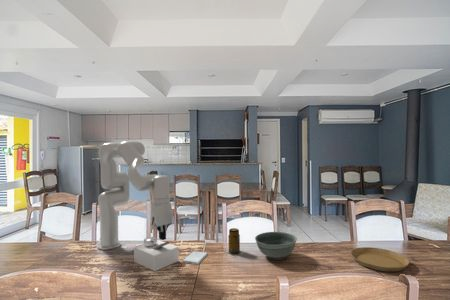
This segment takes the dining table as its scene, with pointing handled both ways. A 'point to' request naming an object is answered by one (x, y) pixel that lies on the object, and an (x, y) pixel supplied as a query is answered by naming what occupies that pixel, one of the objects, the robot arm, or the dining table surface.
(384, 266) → the plant saucer
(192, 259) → the hard drive
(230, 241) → the condiment
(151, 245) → the pin
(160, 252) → the block
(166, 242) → the latch bar
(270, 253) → the bowl
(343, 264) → the dining table surface
